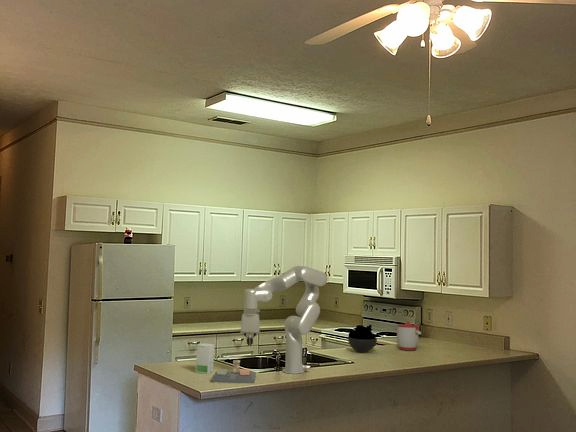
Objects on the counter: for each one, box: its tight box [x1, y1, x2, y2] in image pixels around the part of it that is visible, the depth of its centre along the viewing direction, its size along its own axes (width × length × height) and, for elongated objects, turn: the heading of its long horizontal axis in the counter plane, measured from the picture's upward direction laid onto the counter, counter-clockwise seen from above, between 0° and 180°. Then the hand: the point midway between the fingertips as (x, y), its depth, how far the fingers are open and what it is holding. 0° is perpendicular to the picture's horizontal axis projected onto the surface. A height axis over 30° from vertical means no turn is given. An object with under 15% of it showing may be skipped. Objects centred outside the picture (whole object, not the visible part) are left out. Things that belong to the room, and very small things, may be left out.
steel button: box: [216, 368, 229, 375], centre depth 323 cm, size 5×5×2 cm
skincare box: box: [195, 342, 216, 375], centre depth 344 cm, size 8×7×16 cm
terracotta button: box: [239, 368, 251, 375], centre depth 323 cm, size 5×5×2 cm
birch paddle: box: [232, 359, 241, 373], centre depth 334 cm, size 4×3×6 cm
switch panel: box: [211, 370, 257, 384], centre depth 328 cm, size 22×19×4 cm
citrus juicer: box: [396, 320, 422, 352], centre depth 435 cm, size 16×17×20 cm
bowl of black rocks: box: [347, 324, 378, 353], centre depth 420 cm, size 20×20×19 cm
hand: (249, 345), depth 335 cm, fingers closed
